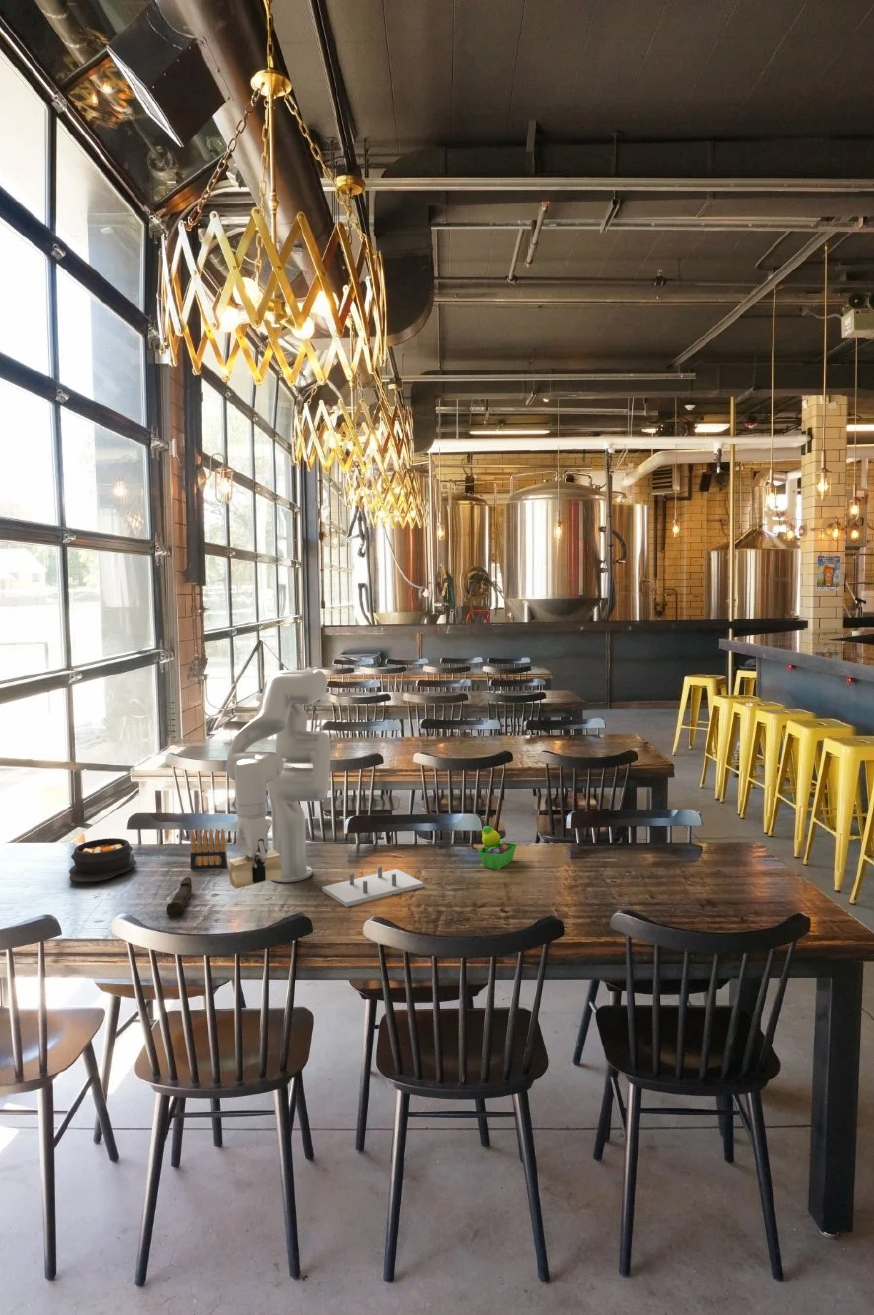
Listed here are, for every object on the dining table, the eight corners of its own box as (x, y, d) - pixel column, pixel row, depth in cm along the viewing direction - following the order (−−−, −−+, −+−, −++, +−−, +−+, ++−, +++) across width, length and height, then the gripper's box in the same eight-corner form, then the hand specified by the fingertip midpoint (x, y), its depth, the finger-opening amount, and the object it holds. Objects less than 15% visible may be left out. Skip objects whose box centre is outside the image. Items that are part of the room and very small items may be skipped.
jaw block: (229, 883, 204) (228, 860, 203) (274, 872, 211) (273, 849, 210) (236, 888, 200) (234, 865, 200) (281, 877, 207) (280, 854, 206)
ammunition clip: (227, 866, 245) (226, 827, 245) (226, 868, 244) (225, 829, 243) (191, 867, 245) (190, 828, 244) (190, 869, 243) (188, 830, 242)
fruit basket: (500, 872, 236) (499, 834, 235) (473, 867, 241) (473, 829, 240) (517, 860, 246) (517, 824, 245) (492, 856, 250) (491, 820, 249)
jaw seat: (322, 891, 223) (321, 876, 223) (397, 872, 237) (396, 858, 236) (346, 906, 212) (345, 891, 211) (423, 886, 225) (422, 872, 225)
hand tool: (182, 917, 208) (181, 900, 207) (166, 918, 207) (165, 900, 207) (200, 890, 226) (199, 874, 226) (185, 891, 226) (184, 874, 226)
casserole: (119, 887, 229) (118, 858, 229) (53, 889, 229) (51, 860, 228) (148, 858, 254) (147, 832, 254) (88, 860, 254) (87, 833, 253)
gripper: (225, 803, 208) (229, 871, 210) (250, 819, 194) (253, 892, 196) (253, 798, 212) (256, 865, 214) (279, 813, 198) (282, 885, 200)
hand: (255, 877), depth 205 cm, fingers closed on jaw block, 4 cm apart
